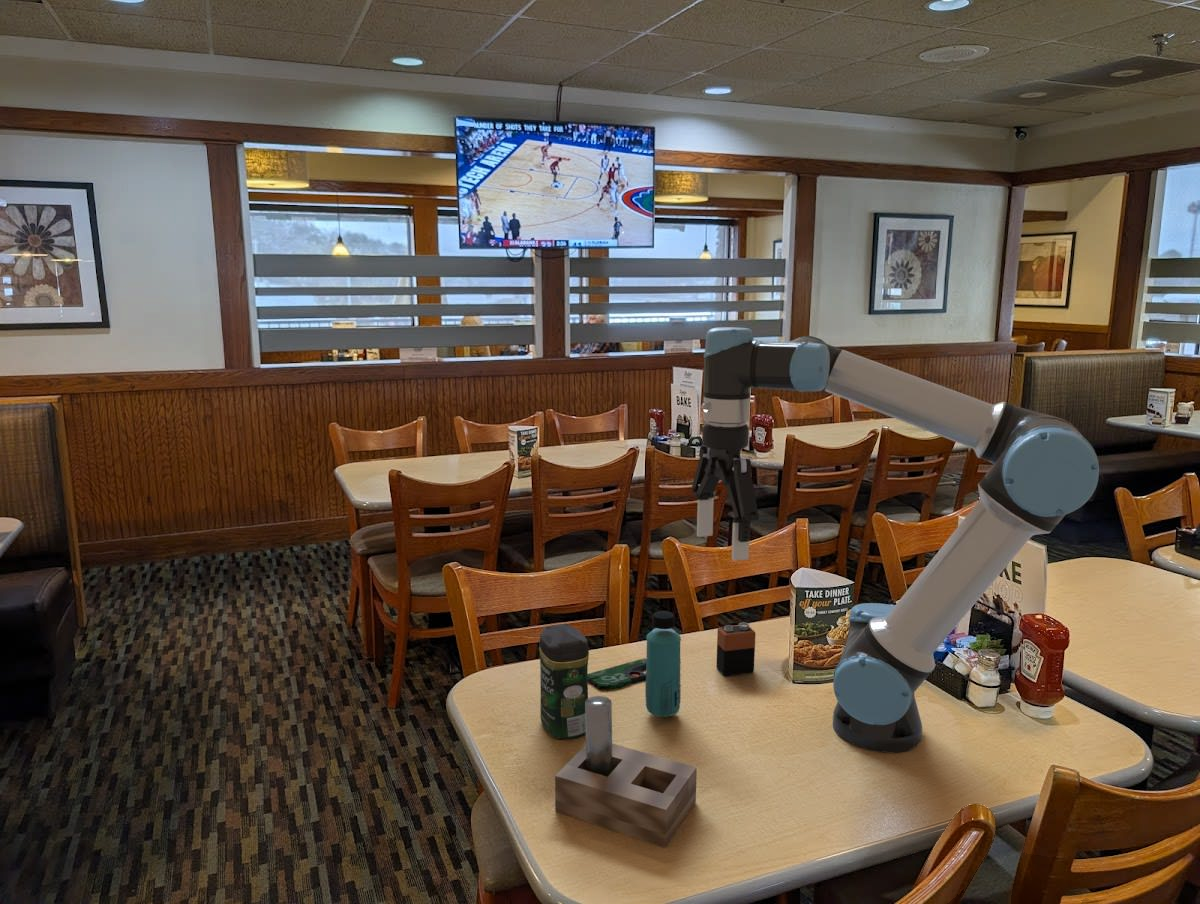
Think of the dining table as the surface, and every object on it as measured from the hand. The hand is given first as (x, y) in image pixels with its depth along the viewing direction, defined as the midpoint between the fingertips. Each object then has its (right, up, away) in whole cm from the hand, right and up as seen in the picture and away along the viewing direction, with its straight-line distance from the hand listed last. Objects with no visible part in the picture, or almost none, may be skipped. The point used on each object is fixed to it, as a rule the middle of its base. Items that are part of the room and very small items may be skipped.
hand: (721, 547), depth 142 cm
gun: (-15, -30, +29) cm, 44 cm away
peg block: (-16, -38, -14) cm, 44 cm away
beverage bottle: (-9, -33, +14) cm, 37 cm away
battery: (+7, -29, +32) cm, 44 cm away
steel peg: (-20, -35, -12) cm, 43 cm away
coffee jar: (-27, -34, +9) cm, 44 cm away
